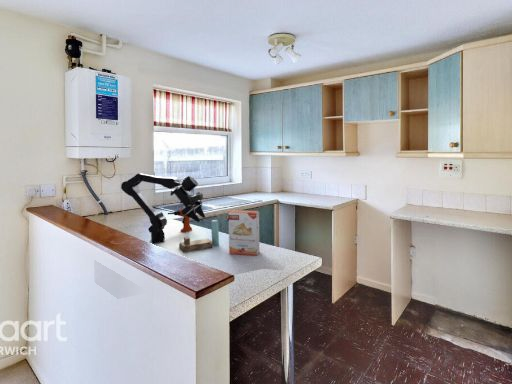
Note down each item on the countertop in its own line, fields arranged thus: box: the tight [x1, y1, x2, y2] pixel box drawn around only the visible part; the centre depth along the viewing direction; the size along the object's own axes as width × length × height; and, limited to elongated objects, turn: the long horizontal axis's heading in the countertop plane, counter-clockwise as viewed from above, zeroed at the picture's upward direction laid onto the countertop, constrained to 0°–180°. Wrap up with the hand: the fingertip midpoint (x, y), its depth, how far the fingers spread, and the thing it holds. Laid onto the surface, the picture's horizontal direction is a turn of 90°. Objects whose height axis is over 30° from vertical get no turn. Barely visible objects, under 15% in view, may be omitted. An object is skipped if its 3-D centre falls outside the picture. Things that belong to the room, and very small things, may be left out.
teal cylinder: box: [210, 219, 220, 247], centre depth 171 cm, size 4×4×13 cm
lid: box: [179, 236, 213, 247], centre depth 167 cm, size 15×7×4 cm, turn 116°
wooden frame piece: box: [178, 242, 214, 253], centre depth 167 cm, size 15×9×2 cm, turn 116°
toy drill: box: [167, 208, 193, 233], centre depth 196 cm, size 5×19×15 cm, turn 144°
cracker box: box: [227, 209, 260, 256], centre depth 156 cm, size 14×6×21 cm, turn 76°
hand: (202, 219), depth 174 cm, fingers open, 9 cm apart
